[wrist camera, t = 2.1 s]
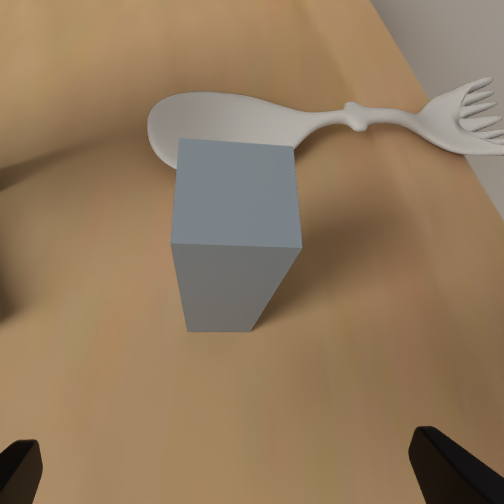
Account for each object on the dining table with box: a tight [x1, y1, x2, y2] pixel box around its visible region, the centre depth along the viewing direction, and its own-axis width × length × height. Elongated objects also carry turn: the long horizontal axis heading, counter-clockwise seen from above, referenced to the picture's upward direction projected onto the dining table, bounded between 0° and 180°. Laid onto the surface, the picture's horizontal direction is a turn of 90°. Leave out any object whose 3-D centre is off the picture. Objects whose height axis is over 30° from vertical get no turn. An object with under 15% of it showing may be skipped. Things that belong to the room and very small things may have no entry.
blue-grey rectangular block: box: [171, 138, 303, 332], centre depth 17 cm, size 4×4×13 cm
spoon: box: [147, 77, 504, 170], centre depth 29 cm, size 9×32×4 cm, turn 100°
